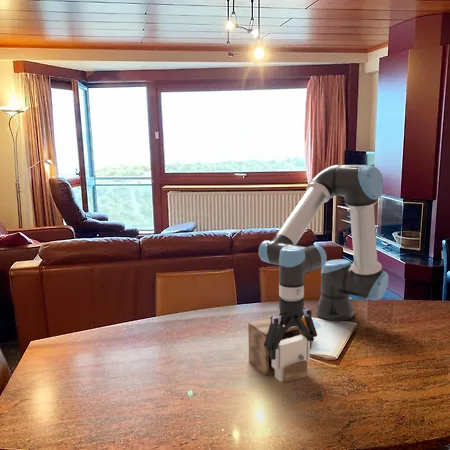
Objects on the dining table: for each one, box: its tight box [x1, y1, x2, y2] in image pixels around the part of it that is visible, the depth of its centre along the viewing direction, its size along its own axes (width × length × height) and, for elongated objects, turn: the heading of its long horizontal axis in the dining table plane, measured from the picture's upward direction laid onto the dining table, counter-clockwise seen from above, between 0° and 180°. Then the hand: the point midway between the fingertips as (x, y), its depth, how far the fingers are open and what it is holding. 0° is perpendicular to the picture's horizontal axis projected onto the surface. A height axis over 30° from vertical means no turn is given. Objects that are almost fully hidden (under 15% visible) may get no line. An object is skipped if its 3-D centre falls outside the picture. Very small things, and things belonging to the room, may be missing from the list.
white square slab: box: [274, 335, 307, 383], centre depth 138 cm, size 4×10×12 cm, turn 118°
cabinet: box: [248, 314, 308, 384], centre depth 144 cm, size 17×14×14 cm
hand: (290, 363), depth 139 cm, fingers open, 11 cm apart
